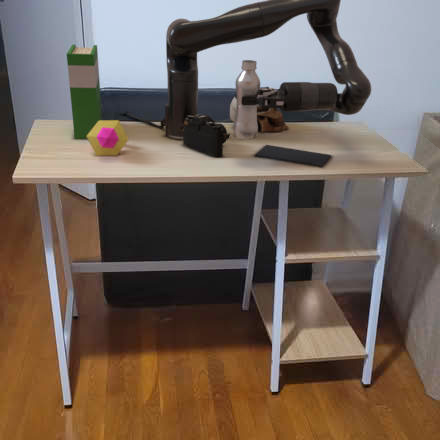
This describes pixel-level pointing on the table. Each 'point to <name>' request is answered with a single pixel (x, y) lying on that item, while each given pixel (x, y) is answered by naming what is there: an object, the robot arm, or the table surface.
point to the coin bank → (263, 118)
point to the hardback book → (84, 89)
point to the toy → (107, 137)
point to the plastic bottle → (246, 114)
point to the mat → (293, 155)
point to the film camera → (204, 135)
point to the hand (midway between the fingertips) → (238, 97)
